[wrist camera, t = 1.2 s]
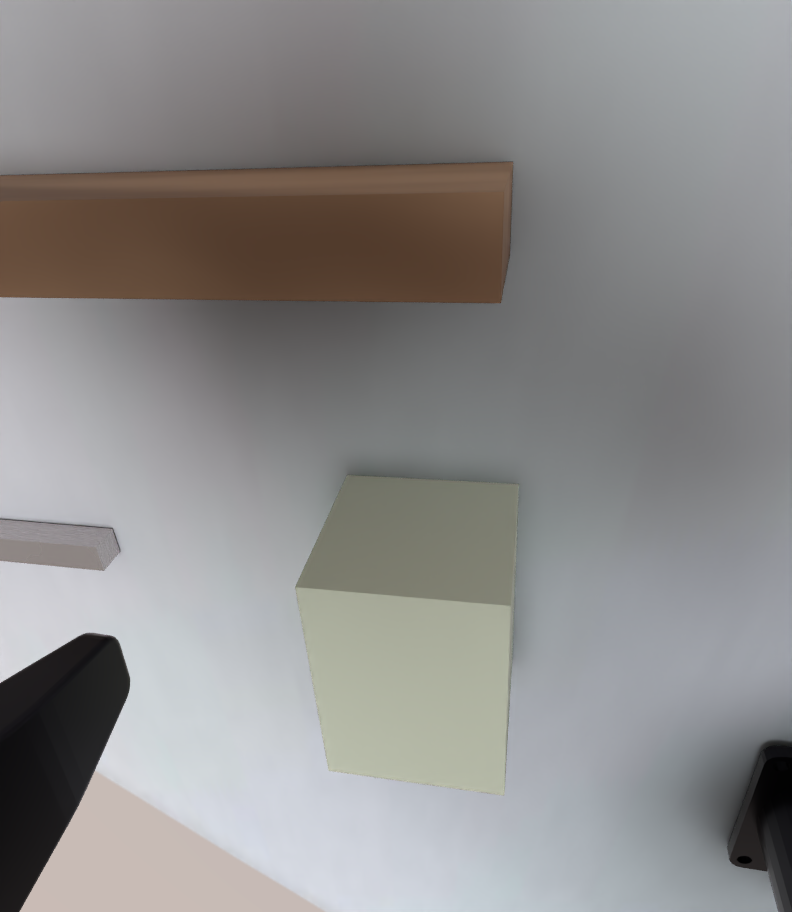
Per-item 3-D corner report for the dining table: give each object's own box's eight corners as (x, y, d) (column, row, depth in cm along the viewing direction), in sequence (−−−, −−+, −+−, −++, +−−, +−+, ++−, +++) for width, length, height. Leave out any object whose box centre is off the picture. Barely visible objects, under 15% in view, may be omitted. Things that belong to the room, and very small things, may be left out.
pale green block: (511, 672, 23) (503, 812, 19) (369, 657, 24) (331, 787, 20) (518, 481, 19) (510, 606, 15) (348, 472, 20) (295, 587, 16)
